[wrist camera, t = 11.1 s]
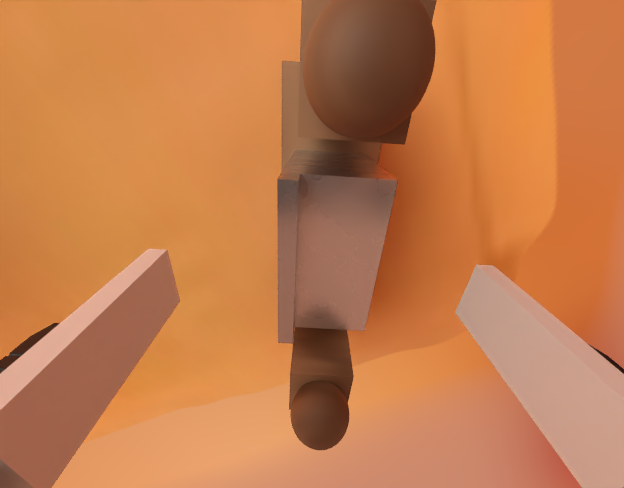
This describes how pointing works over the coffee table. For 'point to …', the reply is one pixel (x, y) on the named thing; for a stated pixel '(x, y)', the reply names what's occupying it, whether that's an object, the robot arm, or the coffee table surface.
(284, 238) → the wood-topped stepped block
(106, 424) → the coffee table surface
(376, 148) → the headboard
